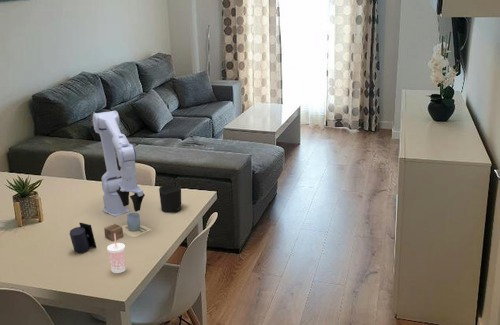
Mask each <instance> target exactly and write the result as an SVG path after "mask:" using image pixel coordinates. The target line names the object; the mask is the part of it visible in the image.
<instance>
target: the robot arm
mask: <svg viewBox="0 0 500 325" xmlns="http://www.w3.org/2000/svg"><path fill="white" fill-rule="evenodd" d="M92 123H93V130H94V132H95V133H96V134H98V135H99V137H100V141H101V147H102V153H103V157H104V163H105V169H106V172H104V174H103V175H102V176H101V187H102V188H101V189H102V192H103V195H102V198H103V210H102V212H104V213H106V214H109V215H110V216H112V217H118V216H120V215H123V214H127V213H128V212H130V211H131V209H129V208H127V206H129V205H130V199H131V202H132V204H133V210H134V213H138V211H141V207H142V202H143V199H145V198H144V197H145V193H144V190H142V189H141V188H140V187H139V185H138V182H137V170H136V160H137V158H138V155H137V149H136V148H135V145H133V144H132V143H130V142H129V140H128V138H127V136H126V135H125V134H124V133H121V130H120V127H119V125H120V115H119V112H118V111H117V110H111V111H103V112H95V113H93V115H92ZM115 150H116V151H115ZM117 161H118V162H117ZM118 166H119V167H120V170H119V168H118ZM130 193H132V195H130Z"/></svg>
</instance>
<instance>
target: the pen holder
mask: <svg viewBox="0 0 500 325" xmlns="http://www.w3.org/2000/svg"><path fill="white" fill-rule="evenodd" d="M158 193H159V200H160V207H161V208H160V209H161V211H162V212H164V213H167V214H176V213H178V212H180V211H181V210H182V186H177V185H176V186H175V185H172V184H164V185H162V186H160V187H159V188H158Z"/></svg>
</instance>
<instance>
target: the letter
mask: <svg viewBox="0 0 500 325" xmlns="http://www.w3.org/2000/svg"><path fill="white" fill-rule="evenodd" d="M140 226H141V229H140V230H138V231H134V232H132V231H129V230H128V223H127V224H124V225H121V227H122V228H123V234H125V235H128V236H129V237H132V238H135V237H138V236H140V235H143V234H145V233H147V232H150V231H152V229H151V228H149V227H147V226H145V225H143V224H141V223H140Z"/></svg>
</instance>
